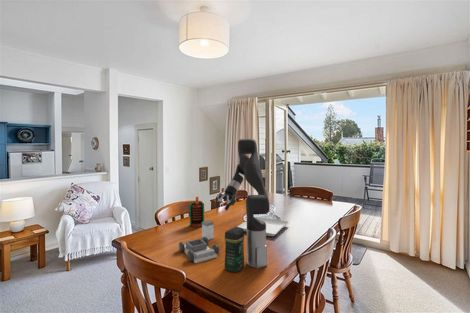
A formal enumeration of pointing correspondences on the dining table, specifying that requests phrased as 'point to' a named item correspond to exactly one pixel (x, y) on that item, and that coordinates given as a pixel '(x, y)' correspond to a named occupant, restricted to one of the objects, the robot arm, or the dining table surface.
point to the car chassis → (199, 250)
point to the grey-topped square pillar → (207, 229)
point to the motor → (196, 213)
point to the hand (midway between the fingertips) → (220, 208)
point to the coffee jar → (234, 249)
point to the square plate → (269, 225)
